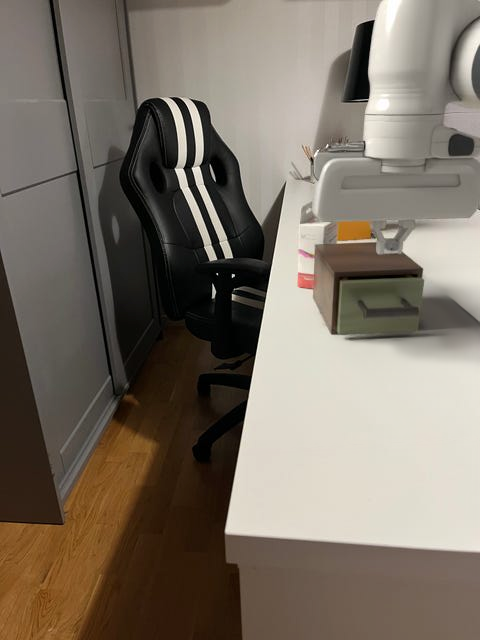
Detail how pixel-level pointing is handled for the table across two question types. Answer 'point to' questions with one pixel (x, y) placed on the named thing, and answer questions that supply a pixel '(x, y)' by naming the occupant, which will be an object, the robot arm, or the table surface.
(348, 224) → the orange juice
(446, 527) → the table surface
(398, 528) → the table surface
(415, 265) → the cabinet
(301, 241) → the ink cartridge box
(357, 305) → the drawer
